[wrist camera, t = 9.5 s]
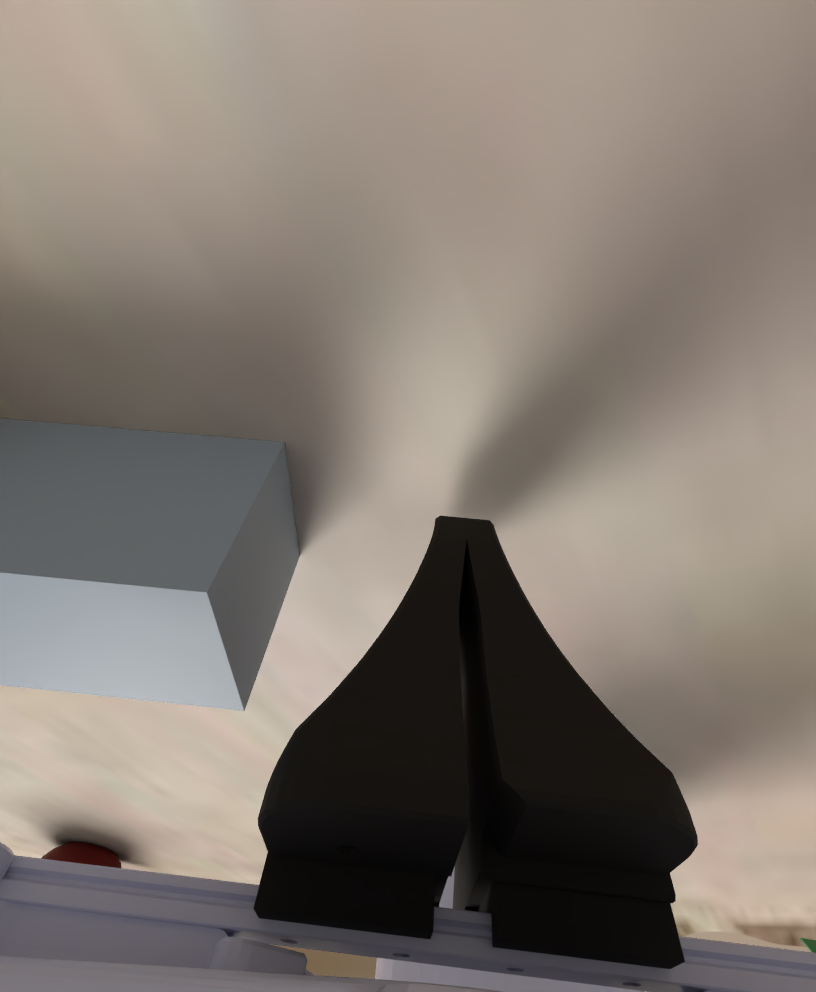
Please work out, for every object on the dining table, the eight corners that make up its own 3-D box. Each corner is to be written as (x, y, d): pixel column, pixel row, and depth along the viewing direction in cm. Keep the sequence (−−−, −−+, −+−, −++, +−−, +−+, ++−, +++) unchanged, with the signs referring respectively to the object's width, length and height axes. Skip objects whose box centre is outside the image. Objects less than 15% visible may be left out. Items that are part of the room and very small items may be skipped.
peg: (286, 438, 12) (206, 592, 9) (300, 552, 15) (244, 711, 11) (-96, 406, 13) (-337, 539, 9) (-19, 522, 15) (-183, 666, 11)
